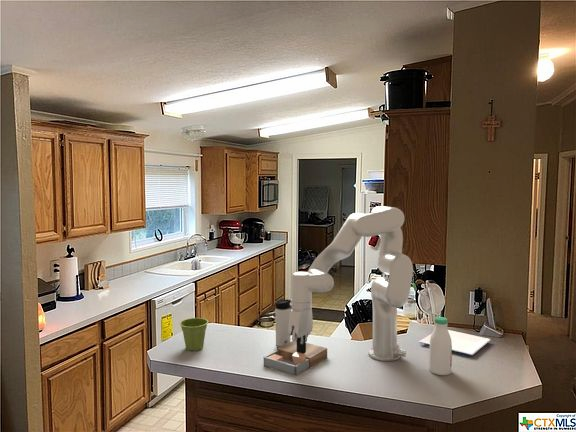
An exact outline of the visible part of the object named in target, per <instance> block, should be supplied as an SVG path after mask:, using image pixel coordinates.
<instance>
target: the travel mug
mask: <svg viewBox="0 0 576 432" xmlns="http://www.w3.org/2000/svg"><path fill="white" fill-rule="evenodd" d="M291 303H292V299H279V300H277V301H276V302H275V309H274V310H275V311H274V313H275V347H276V348H279V347H281V346H283V345H285V344H287V343H289V342H291V336H290V335H289V333H288V330H289V317H290V311H291Z"/></svg>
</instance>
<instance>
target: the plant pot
mask: <svg viewBox="0 0 576 432" xmlns="http://www.w3.org/2000/svg"><path fill="white" fill-rule="evenodd" d="M208 323H209V320H208V319H206V318H202V317H190V318H186V319H185V318H184V319H183V320H181V321H180V322H179V325H180V328H181V330H182V334H183V339H184V341H183V342H184V345H185V349H186V350H187V351H189V350H190V351H196V350H197V351H199V350H202V349H203V348H204V345H205V338H206V337H205V336H206V330H207V325H208Z"/></svg>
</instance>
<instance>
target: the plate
mask: <svg viewBox="0 0 576 432" xmlns="http://www.w3.org/2000/svg"><path fill="white" fill-rule="evenodd" d="M448 332H449V334H450V337H451V341H452V352H456V353H461V354H465V355H468V356H474V355H475V353H477V352H478V351H480V349H481V348H483V347H484V346H486V345H487V344H488V343H490V341H491V338H487V337H484V336H483V337H482V336H478V335H473V334H469V333H464V332H460V331H454V330H452V329H451V330H450V329H448ZM431 334H432V333H431ZM431 334H429V335H428V336H426V337H424V338H423V339H421V340H419V341H418V342H419V343H420V344H424V345H428V346H430V337H431Z"/></svg>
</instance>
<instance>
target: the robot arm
mask: <svg viewBox="0 0 576 432" xmlns="http://www.w3.org/2000/svg"><path fill="white" fill-rule="evenodd" d="M404 222H405V214H404V211H402V210H401V209H399V208H398V207H395V206H394V207H393V206H385V205H380V206H379V205H378V206H375V207H373V208H372V209H371V211H370V213H363V212H362V213H361V212H354V213H352V214H349V216H348V217H347V218H346V220H345V221H344V222H343V224H342V227H341V228H340V230H339V231H338V233H336V236H335V237H334V238H333V240H332V241H331V243H330V244H329V245H328V246H326V248H324V250H322V251H321V252H320V253H319V254H318V255H317V257H316V258H315V259H314V261H313V262H312V263H311V265H310V266H309V268H308V270H307V271H296V272H293V273H292V275H291V309H290V317H289V330H288V333H289V335H290V337H291V341H296V343H297V352H299V353H302V354H304V353H306V343H308V342H307V341H308V337H309V335H310V334H311V332H312V331H313V328H314V327H313V326H314V322H313V321H314V320H313V318H314V317H313V310H312V307H313V306H312V305H313V303H312V302H313V301H312V300H313V299H312V296H313V295H312V294H313V292H314V293H328V292H329V291H331V290H332V289H333V288H334V285H335V281H334V280H335V279H334V278H333V277H332V275H331V274H329V271H330V270H331V268H332V267H333V266H334V265H335V264H336V263H338V262H339V261H342V260H344V259H347V258H349V257H350V256H351V255H352V253H353V252H354V250H355V249H356V247H357V245H358V244H359V243H360V241H361V239H362V238H370V237H375V236H379V235H380V244H379V245H380V246H379V252H378V257H377V258H378V259H377V268H378V270H379V271H380V272H381V273H383V274H385V275H387V276H388V277H387V276H378V277H377V278H375V279H374V280H373V281H372V283H371V286H370V295H371V302H372V348H370V349H369V350H368V355H369V357H371V358H372V359H374V360H377V361H382V362H383V361H384V362H392V361H396V360H399V359H400V358H401V357H403V358H405V357H407V351H406V350H405V349H401V348H400V344H398V309H397V308H402V307H403V306H405V305H406V304H407V302H408V301H409V298H410V292H411V288H412V280H413V274H414V273H413V272H414V266H413V262H412V260H411V258H410V257H409V256H408V255H406V254H404V253H403V244H404V243H403V242H404V238H403V237H404V236H403V235H404V234H403V231H402V228H401V227H402V226H403V224H404Z"/></svg>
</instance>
